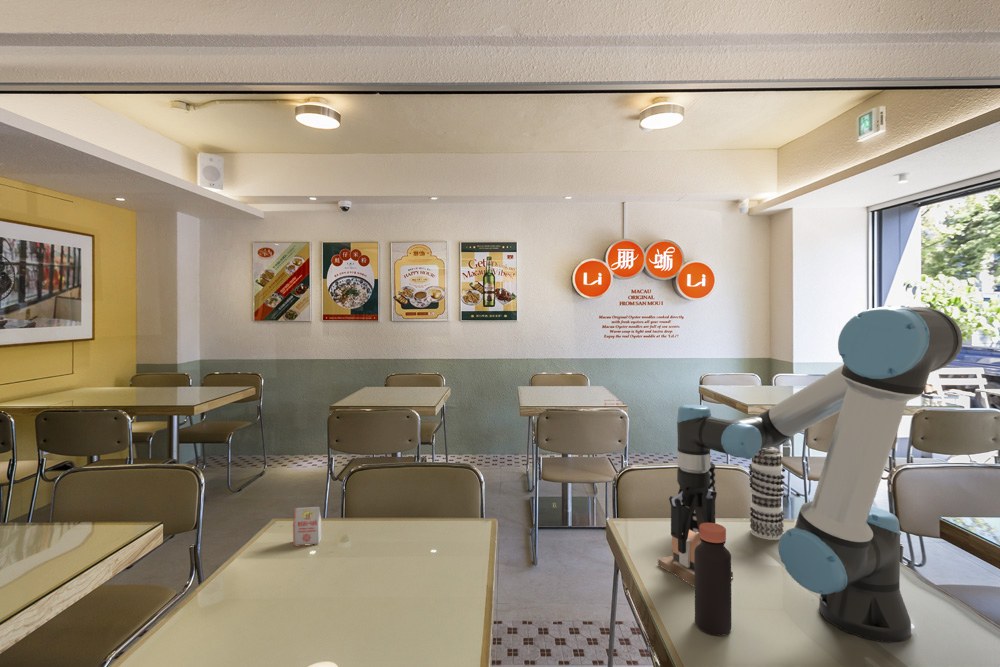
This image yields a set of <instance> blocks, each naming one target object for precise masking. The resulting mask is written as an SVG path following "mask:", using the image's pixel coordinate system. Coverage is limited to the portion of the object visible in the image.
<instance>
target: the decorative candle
mask: <svg viewBox="0 0 1000 667" xmlns="http://www.w3.org/2000/svg"><path fill="white" fill-rule="evenodd" d="M783 455H784V453H782V452H781V451H780V449H778V448H777V446H776V447H768V448H763V449H760V450H759V452H758V453H757V454H755V456H754V457H753V458H751V461H750V462H751V463H750V464H749V465H748V470H749V471H748V474H749V476H750V477H749V482H750V483H749V487H750V488H751V489H749V492H750V493H751V501H750V502H751V504H750V505H751V507H749V509H750V513H749V514H750V519H749V522H750V526H749V527H750V530H749V532H750V533H751V534H752V535H753V536H754V537H757V538H760V539H763V540H769V541H777V540H778V541H779V540H780V538H781V536H782V535H783V534H784V533H785V530H784V523H783V521H784V515H785V514H784V511H783V504H782V502H783V501H782V500H783V499H782V498H783V497H784V491H785V488H783V487H782V485H784V484H785V481H784V479H785V478H786V476H785V475H784V474H782V473H785V472H786V469H785V468H784V467H783V464H782V460H783V459H782V456H783Z"/></svg>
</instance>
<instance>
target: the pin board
mask: <svg viewBox="0 0 1000 667" xmlns="http://www.w3.org/2000/svg"><path fill="white" fill-rule="evenodd" d="M657 562H658V563H657V565H658V566H659V565H660V566H659V567H661V566H662V567H663V569H664V568H665V569H664V570H666V569H667V570H666V571H668V570H669V571H670V572H669V571H668V572H669V573H671V572H672V574H673V573H674V574H676V575H677V576H676V575H675V576H676V577H678V576H679V577H680V579H681V578H682V579H681V580H683V579H684V580H685V581H684V580H683V581H684V582H686V581H687V582H686V583H688V582H689V583H690V584H689V583H688V584H689V585H691V584H692V585H691V586H693V585H694V586H695V565H694V563H693V562H691V561H690V567H689V568H687V567H685V566H684V565H682V564H680V563H679V555H678V554H676V553H674V552H673V551H672V555H669V556H665V557H661V558H658V559H657ZM662 567H661V568H662ZM674 574H673V575H674ZM733 576H734V572H733V571H732V570H731V577H733ZM679 577H678V578H679ZM733 578H734V577H733ZM694 586H693V587H694Z"/></svg>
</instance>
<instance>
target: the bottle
mask: <svg viewBox="0 0 1000 667" xmlns="http://www.w3.org/2000/svg"><path fill="white" fill-rule="evenodd" d="M699 536H700V540H701V543H700V544H699V545H698V546H696V548H695V551H694V565H695V587H694V622H695V625H696V626H697V627H698V629H699V630H701V631H702V632H704V633H707V634H709V635H712V634H713V636H725V635H728V634H730V632H732V579H731V571H732V554H731V552H730V551H729V550H728V548H727V547H726V546H725V544H726V540H727V528H726V527H725V526H723V525H721V524H718V523H716V522H715V523H702V524H700V525H699Z"/></svg>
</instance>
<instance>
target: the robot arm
mask: <svg viewBox="0 0 1000 667" xmlns="http://www.w3.org/2000/svg"><path fill="white" fill-rule="evenodd" d="M961 330H962V329H961V328H960V326H959V325H958V323H957V322H956V321H955V320H954V319H953V318H952V317H951V316H949V315H948V314H947V313H945V312H943V311H941V310H938V309H935V308H931V307H926V306H925V307H924V306H913V307H911V306H895V305H885V306H884V305H883V306H879V307H875V308H870V309H866V310H863V311H862V312H859V313H857V314H856V315H854V316H853V317H852V318H850V319H849V320H848V321H847V322H846V323H845V325H844V326H843V327H842V329H841V331H840V333H839V336H838V341H837V348H838V354H839V356H841V359H842V362H843V364H842V365H841V366H839V367H836V369H834V370H832V371H830V372H829V373H827V374H825V375H824V376H822V377H821V378H818V379H817V380H815V381H814V382H812V383H810V384H809V385H807V386H805V387H803V388H802V389H800V390H798V391H797V392H794V393H793V394H792V395H790V396H789V397H787V398H785V399H783V400H782V401H780V402H778V403H777V404H774V406H772V407H771V408H769V409H767V410H765V411H764V412H762V413H760V414H758V415H755V416H749V417H742V418H736V419H723V418H717V417H714V416H712V413H711V408H710V407H709V406H706V405H702V404H683V405H680V406H679V408H678V410H677V418H676V419H677V420H676V425H677V426H676V430H677V431H676V432H677V449H676V450H677V452H676V453H677V454H676V455H677V460H676V461H677V463H676V464H677V466H678V468H677V469H676V472H677V473H676V477H677V478H676V479H677V480H676V482H677V484H678V485H679V489H678V492H677V495H675V496H669V499H668V501H669V503H670V536H671V537H672V536H673V537H675V538H677V539H678V551H679V563H680V564H682V565H684V566H685V567H687V568H689V567H690V540H688V533H689V528H690V523H691V517H692V513H694V510H695V514H696V519H697V525H698V530H699V525H700V524H702V523H716V499H717V494H718V493H717V492H716V490H715V491H713V490H710V489H708V488H707V487H709V486H710V472H709V469H710V463H711V451H715V452H719V453H722V454H726V455H728V456H731V457H733V458H743V459H752V458H753V457H754V456H755V454H757V453H758V452H759V450H760V449H763V448H768V447H776V448H777V447H779V446H781V445H784V444H786V443H788V442H789V441H790V440H791V438H792V437H794V436H795V435H796V434H799V433H801V432H803V431H804V430H806V429H808V428H810V427H812V426H814V425H816V424H819V423H821V422H822V421H824V420H826V419H828V418H830V417H832V416H833V415H836V414H838V418H837V421H836V423H835V428H834V431H833V434H832V436H831V441H830V443H829V447H828V450H827V453H826V456H825V460H824V463H823V466H822V469H821V472H820V476H819V479H818V483H817V486H816V489H815V493H814V494H813V499H812V501H808V502H804V503H802V505H801V507H800V509H799V512H798V514H797V519H796V521H795V525H794V527H793V528H789V529H787V530H785V531H784V532H783V533H782V534H783V535H782V536H781V538H780V539H779V540H778V555H779V558H780V561H781V563H782V564H783V565H784V567H785V571H786V572H787V573H788V574H789V576H790V577H791V578H792V579H793V580H794V581H795V582H796V583H798V584H799V585H800V587H803V588H804V589H806V590H807V591H809V592H812V593H815V594H820V596H819V603H818V604H819V607H818V608H819V611H820V614H821V615H822V616H823V618H824V619H826V621H828V622H829V623H831V624H832V625H834V626H835V627H836V628H838V629H841V630H842V631H845V632H847V633H850V634H852V635H853V636H857V637H861V638H864V639H867V640H871V641H872V640H873V641H877V642H886V643H896V642H897V643H898V642H904V641H905V640H908V639H909V638H910V637H911V635H912V622H911V618H910V615H909V613H908V609H907V606H906V604H905V601H904V598H903V596H902V593H901V588H900V587H901V586H900V585H901V584H900V580H901V579H900V576H901V572H900V571H901V570H900V568H901V565H900V564H901V535H902V532H901V531H900V521H899V519H898V517H897V516H896V515H895V514H893V513H891V512H889V511H887V510H886V509H882V508H879V507H875V506H873V505H874V504H873V503H874V501H875V498H876V495H877V492H878V488H879V486H880V483H881V481H882V478H883V475H884V472H885V468H886V466H887V463H888V460H889V456H890V453H891V450H892V448H893V444H894V442H895V440H896V436H897V433H898V431H899V427H900V425H901V421H902V419H903V416H904V413H905V410H906V406H907V404H908V402H909V401H911V400H913V399H917V398H919V397H921V396H922V395H923V393H924V390H925V388H926V385H927V381H928V379H929V376H930V373H933V372H935V371H939V370H941V369H943V368H945V367H947V366H948V365H949V364H951V363H952V362H953V361H955V360H956V358H957V357H958V356H959V354H960V353H961V350H962V347H963V334H962V331H961ZM686 506H687V507H686ZM688 507H689V508H688ZM697 533H698V534H699V532H697Z"/></svg>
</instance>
